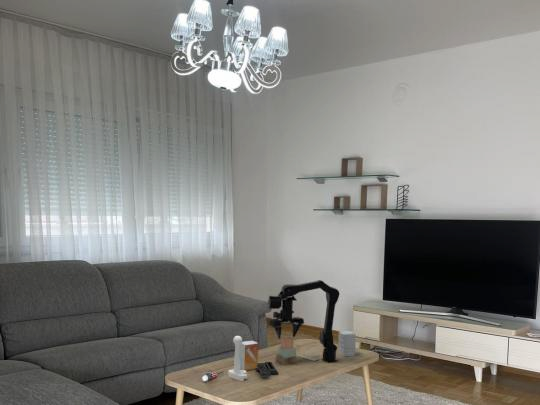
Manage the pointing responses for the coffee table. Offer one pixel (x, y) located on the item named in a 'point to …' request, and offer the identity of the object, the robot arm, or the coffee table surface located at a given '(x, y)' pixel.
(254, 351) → the small box
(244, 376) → the joystick
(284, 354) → the sage top block
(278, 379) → the coffee table surface
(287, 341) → the terracotta cube
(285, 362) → the walnut base block
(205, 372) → the coffee table surface
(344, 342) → the supplement box
